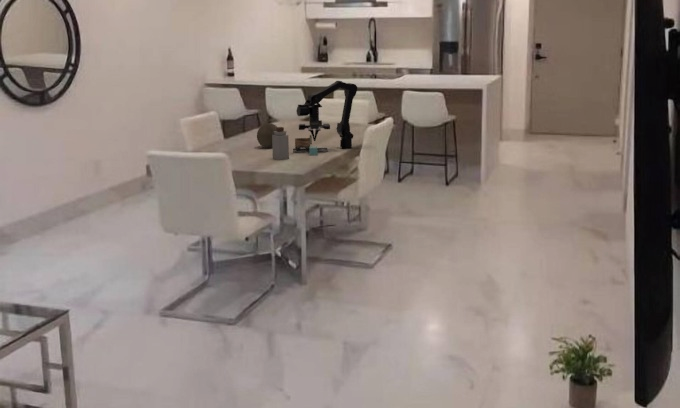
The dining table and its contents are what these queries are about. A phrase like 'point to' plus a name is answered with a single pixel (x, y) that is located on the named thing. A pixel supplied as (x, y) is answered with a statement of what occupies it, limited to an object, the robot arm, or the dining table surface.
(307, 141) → the cart
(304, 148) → the rail
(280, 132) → the perfume bottle
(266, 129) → the cantaloupe
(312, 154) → the block
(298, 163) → the dining table surface
